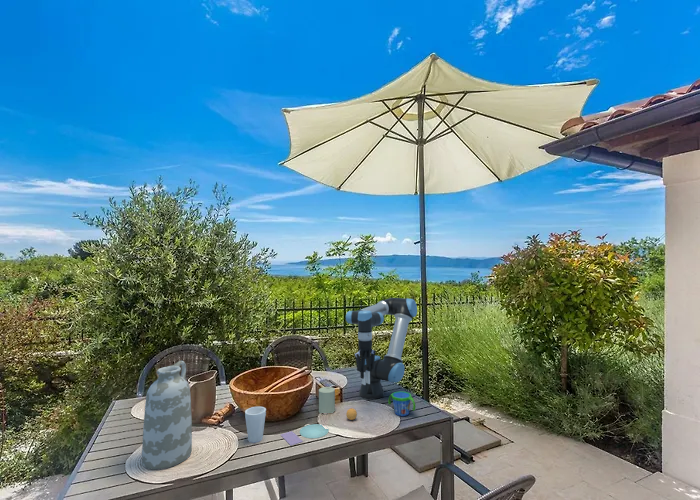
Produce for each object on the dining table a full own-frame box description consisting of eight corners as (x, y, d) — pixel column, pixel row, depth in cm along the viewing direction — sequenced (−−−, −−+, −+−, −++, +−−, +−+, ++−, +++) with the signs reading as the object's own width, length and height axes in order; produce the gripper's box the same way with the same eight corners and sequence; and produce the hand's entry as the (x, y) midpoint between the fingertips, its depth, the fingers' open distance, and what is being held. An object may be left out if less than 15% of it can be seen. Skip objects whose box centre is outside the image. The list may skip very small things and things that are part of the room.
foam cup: (246, 446, 151) (247, 416, 152) (243, 437, 160) (243, 409, 160) (268, 441, 156) (268, 412, 157) (263, 432, 164) (263, 405, 165)
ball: (353, 416, 181) (352, 405, 181) (359, 420, 176) (358, 409, 177) (344, 418, 178) (344, 408, 178) (350, 422, 173) (350, 411, 174)
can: (336, 407, 193) (336, 386, 193) (333, 414, 183) (333, 392, 184) (320, 407, 193) (320, 385, 194) (317, 414, 184) (317, 391, 185)
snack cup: (384, 412, 185) (383, 393, 185) (395, 407, 193) (395, 388, 193) (408, 421, 174) (408, 401, 175) (419, 414, 182) (419, 395, 182)
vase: (172, 472, 133) (174, 372, 135) (130, 468, 136) (132, 371, 138) (202, 445, 152) (204, 359, 155) (165, 442, 155) (167, 358, 158)
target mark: (319, 422, 175) (319, 421, 175) (334, 432, 163) (334, 432, 163) (294, 429, 167) (294, 429, 167) (307, 441, 155) (307, 440, 155)
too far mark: (291, 431, 165) (291, 431, 165) (302, 441, 155) (302, 441, 155) (280, 435, 161) (280, 434, 161) (290, 445, 152) (290, 445, 152)
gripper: (357, 342, 177) (358, 388, 176) (380, 339, 186) (381, 382, 185) (349, 340, 184) (350, 384, 182) (372, 336, 192) (372, 379, 191)
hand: (365, 383), depth 183 cm, fingers open, 2 cm apart
